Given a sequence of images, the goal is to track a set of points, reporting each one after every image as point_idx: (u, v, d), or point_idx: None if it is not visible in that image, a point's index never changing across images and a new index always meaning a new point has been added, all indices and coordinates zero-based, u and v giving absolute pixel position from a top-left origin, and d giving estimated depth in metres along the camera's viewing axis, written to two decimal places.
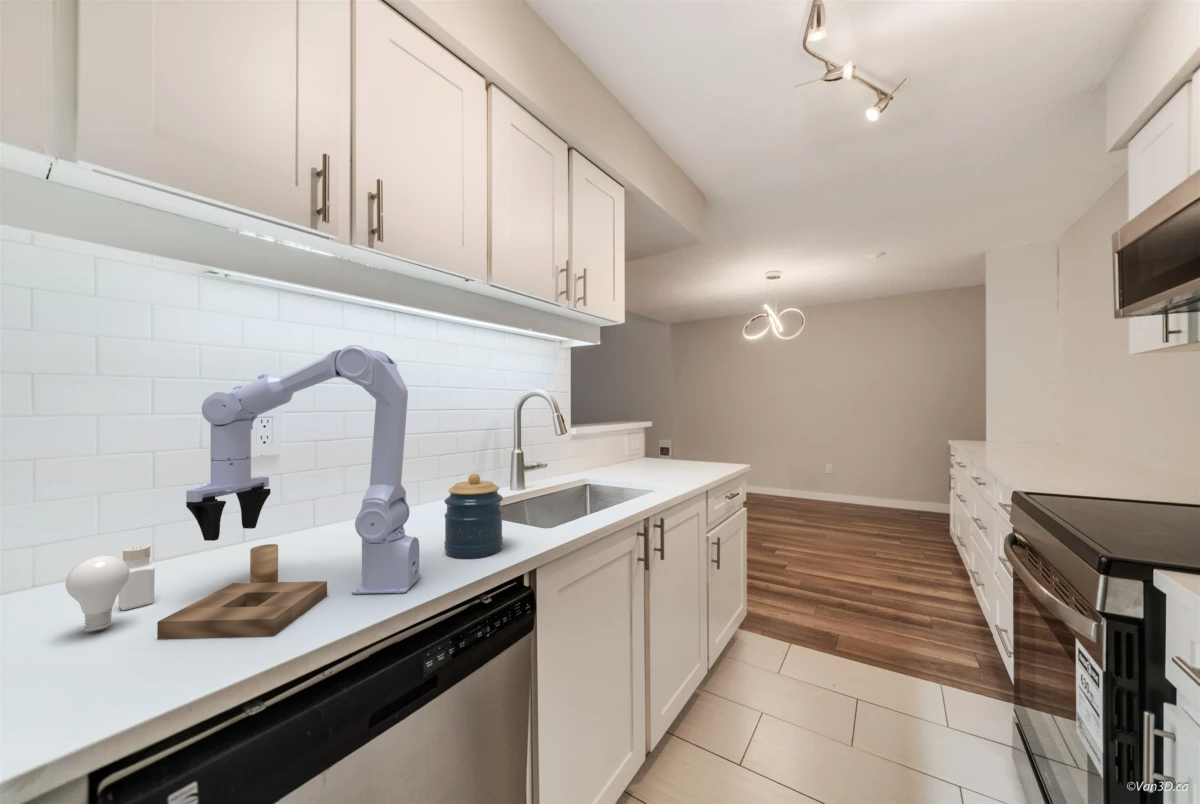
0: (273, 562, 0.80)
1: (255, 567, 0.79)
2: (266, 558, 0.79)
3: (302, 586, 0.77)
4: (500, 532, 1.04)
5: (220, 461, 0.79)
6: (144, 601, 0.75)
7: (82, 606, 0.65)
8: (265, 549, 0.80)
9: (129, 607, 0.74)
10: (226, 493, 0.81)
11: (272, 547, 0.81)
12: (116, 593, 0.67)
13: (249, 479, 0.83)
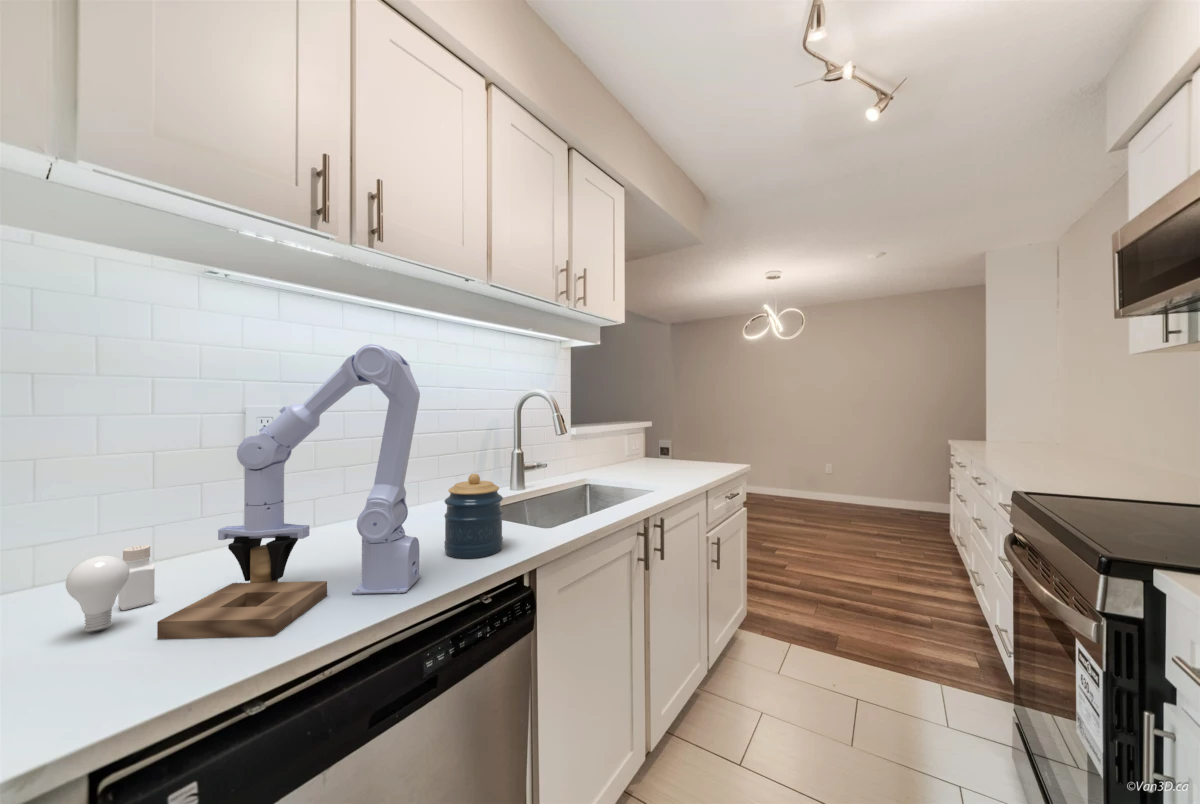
0: None
1: (255, 567, 0.79)
2: (266, 558, 0.79)
3: (302, 586, 0.77)
4: (500, 532, 1.04)
5: None
6: (144, 601, 0.75)
7: (82, 606, 0.65)
8: (265, 549, 0.80)
9: (129, 607, 0.74)
10: (255, 536, 0.80)
11: None
12: (116, 593, 0.67)
13: (260, 528, 0.78)
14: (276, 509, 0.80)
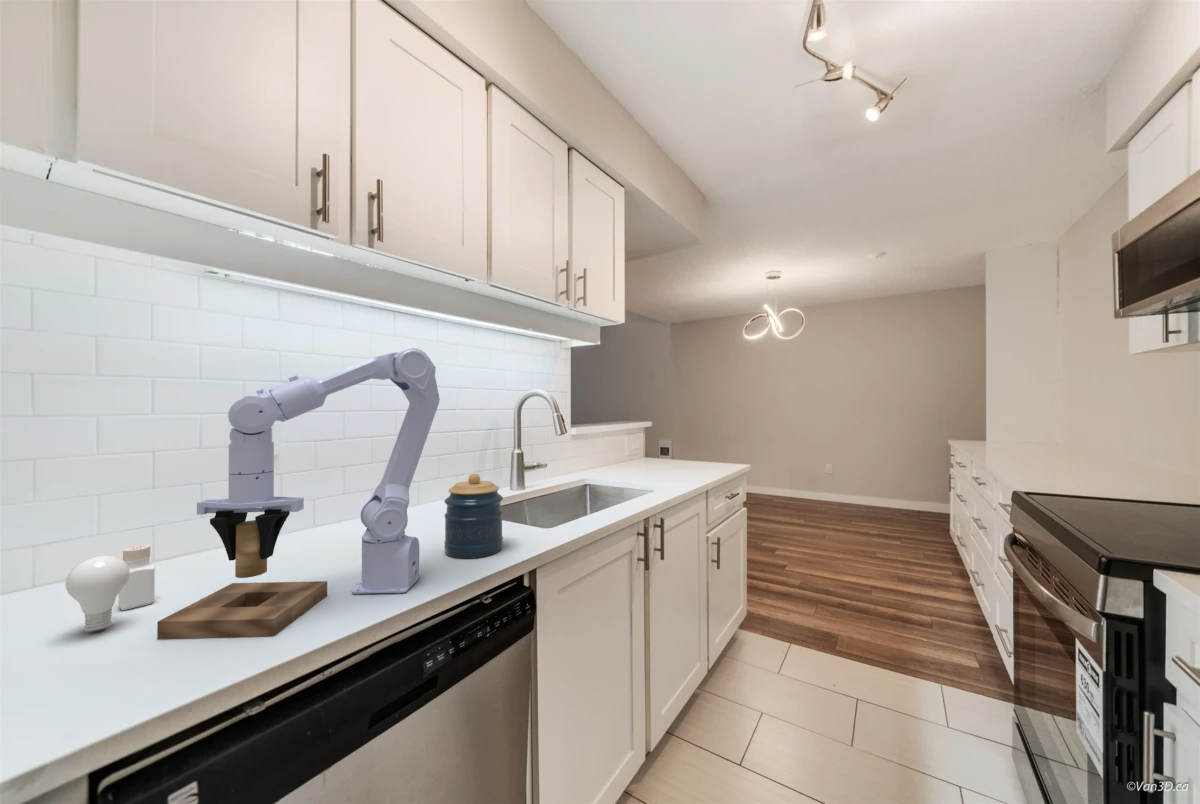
0: None
1: (242, 544, 0.70)
2: (256, 533, 0.71)
3: (302, 586, 0.77)
4: (500, 532, 1.04)
5: None
6: (144, 601, 0.75)
7: (82, 606, 0.65)
8: (254, 524, 0.71)
9: (129, 607, 0.74)
10: (241, 510, 0.71)
11: None
12: (116, 593, 0.67)
13: (248, 499, 0.69)
14: (266, 479, 0.71)
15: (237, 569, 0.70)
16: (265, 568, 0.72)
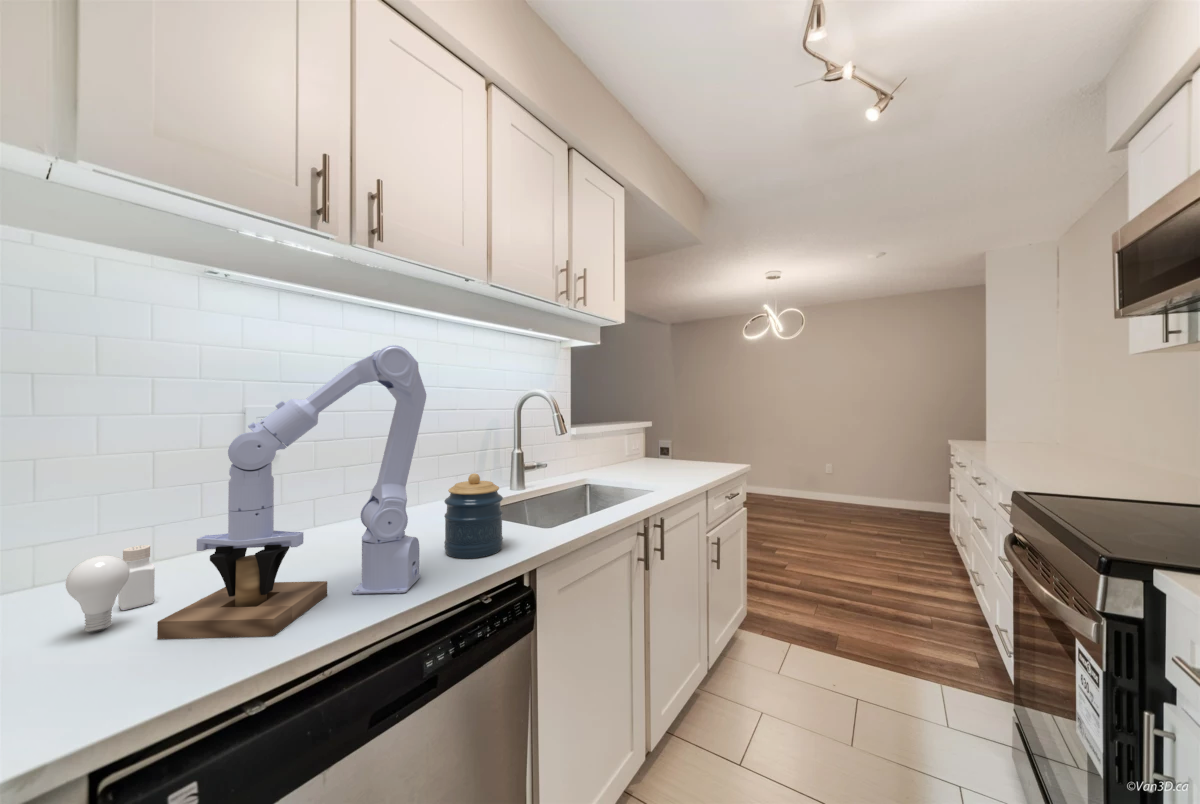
0: None
1: (242, 580, 0.70)
2: (255, 569, 0.71)
3: (302, 586, 0.77)
4: (500, 532, 1.04)
5: None
6: (144, 601, 0.75)
7: (82, 606, 0.65)
8: (254, 560, 0.71)
9: (129, 607, 0.74)
10: (241, 546, 0.71)
11: None
12: (116, 593, 0.67)
13: (247, 536, 0.69)
14: (266, 515, 0.71)
15: (237, 606, 0.70)
16: None
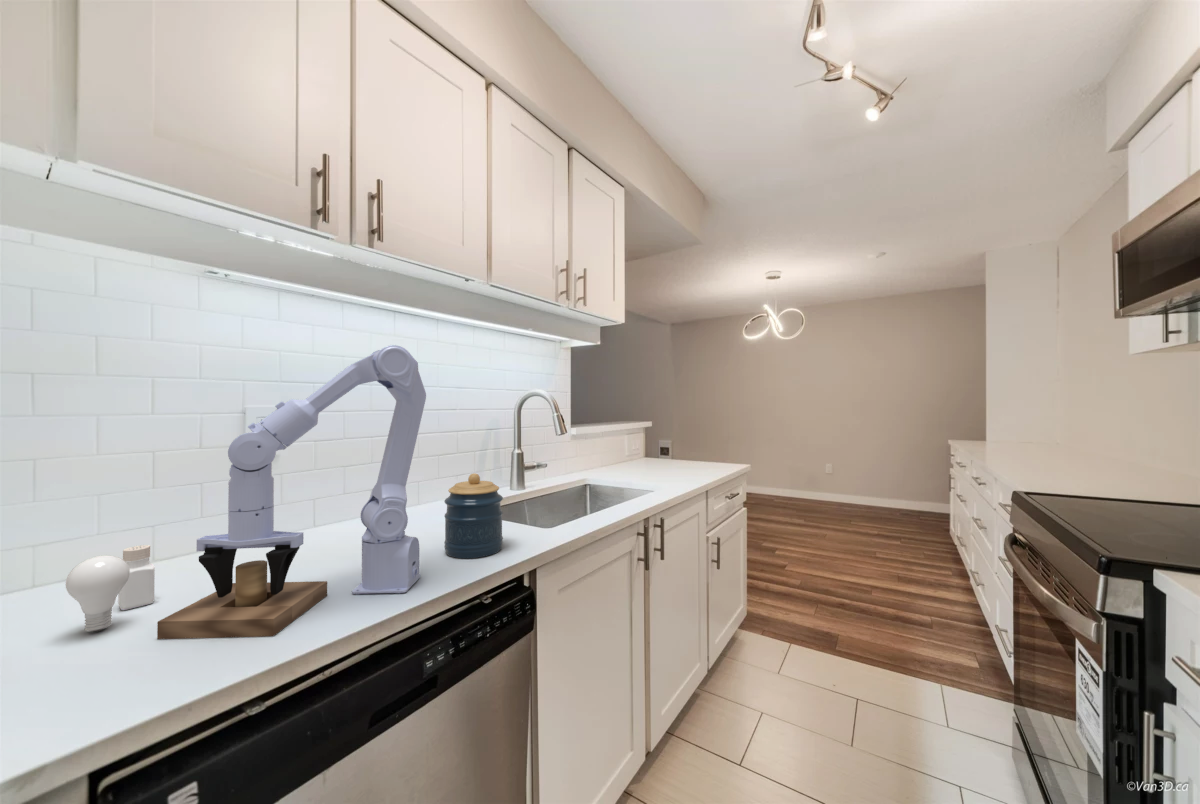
0: (263, 580, 0.72)
1: (242, 587, 0.70)
2: (255, 576, 0.71)
3: (302, 586, 0.77)
4: (500, 532, 1.04)
5: None
6: (144, 601, 0.75)
7: (82, 606, 0.65)
8: (254, 566, 0.71)
9: (129, 607, 0.74)
10: (241, 546, 0.71)
11: (261, 564, 0.72)
12: (116, 593, 0.67)
13: (247, 536, 0.69)
14: (266, 515, 0.71)
15: None
16: None
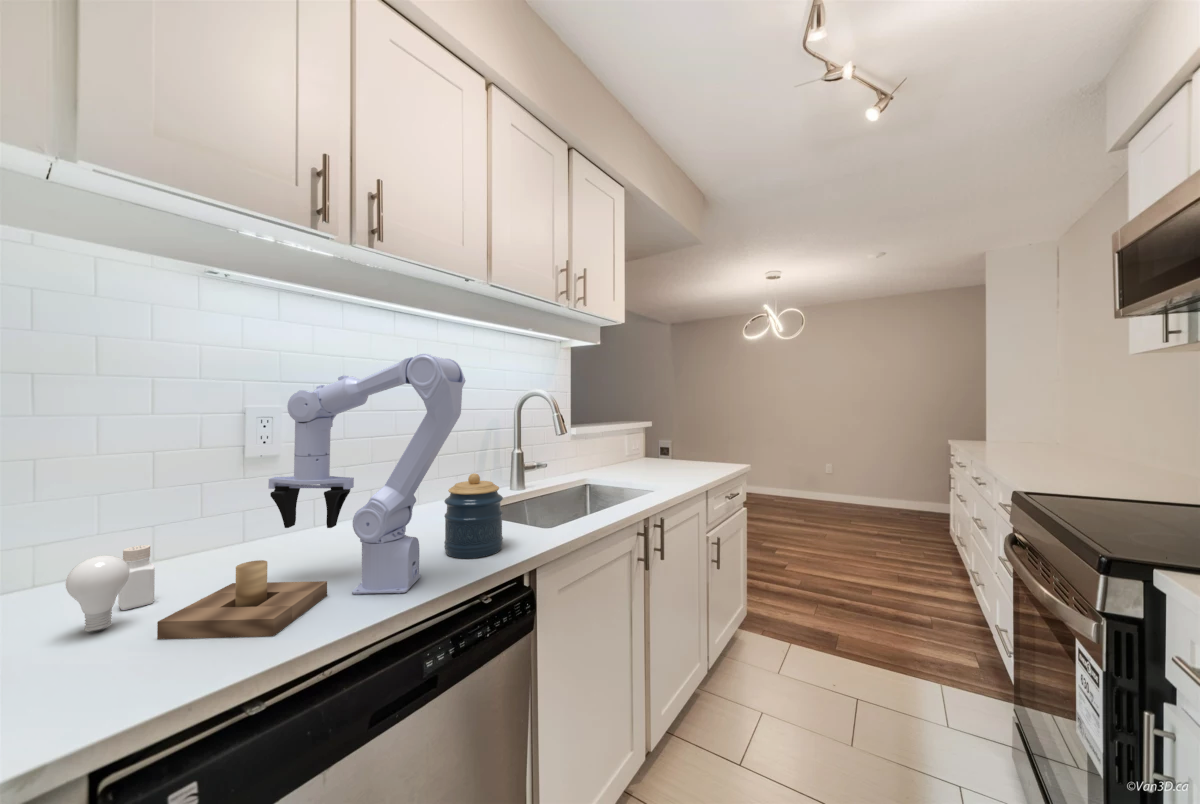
0: (263, 580, 0.72)
1: (242, 587, 0.70)
2: (255, 576, 0.71)
3: (302, 586, 0.77)
4: (500, 532, 1.04)
5: None
6: (144, 601, 0.75)
7: (82, 606, 0.65)
8: (254, 566, 0.71)
9: (129, 607, 0.74)
10: (303, 486, 0.85)
11: (261, 564, 0.72)
12: (116, 593, 0.67)
13: (309, 477, 0.83)
14: (324, 461, 0.85)
15: None
16: None
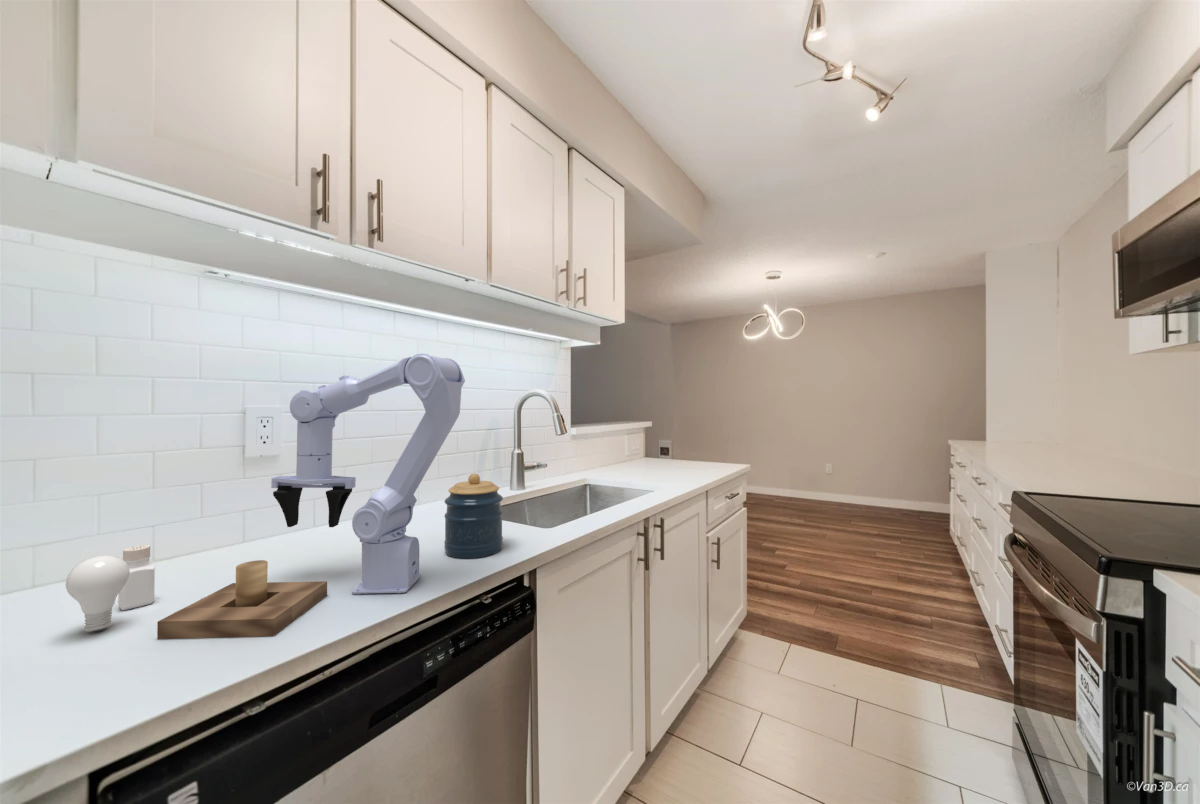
0: (263, 580, 0.72)
1: (242, 587, 0.70)
2: (256, 576, 0.71)
3: (302, 586, 0.77)
4: (500, 532, 1.04)
5: None
6: (144, 601, 0.75)
7: (82, 606, 0.65)
8: (254, 566, 0.71)
9: (129, 607, 0.74)
10: (305, 486, 0.86)
11: (261, 564, 0.72)
12: (116, 593, 0.67)
13: (311, 477, 0.83)
14: (326, 460, 0.85)
15: None
16: None
